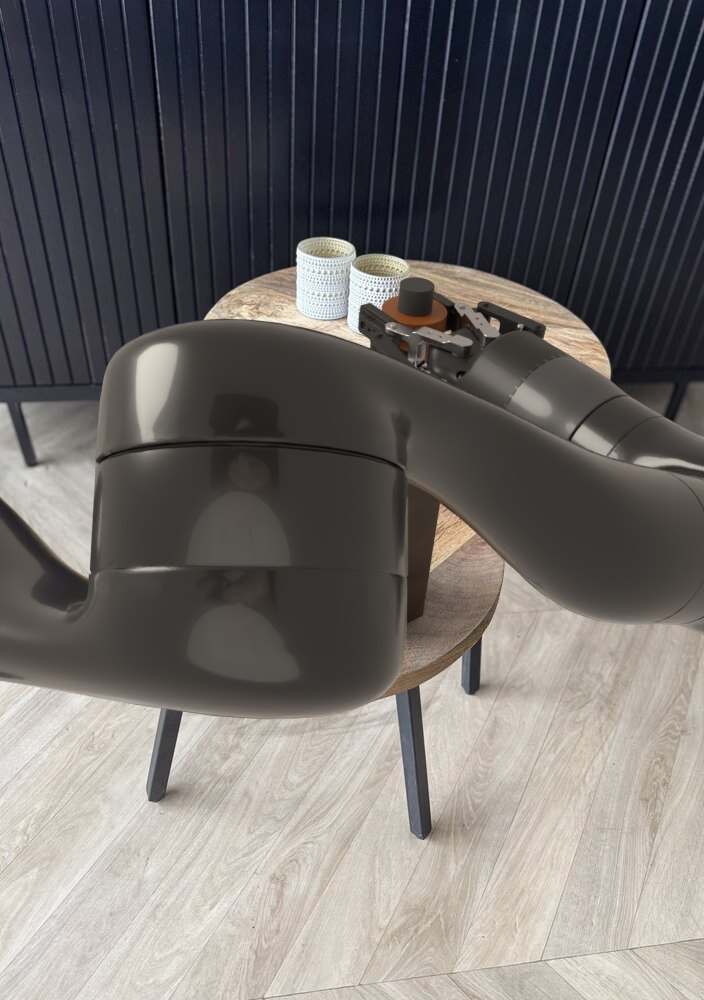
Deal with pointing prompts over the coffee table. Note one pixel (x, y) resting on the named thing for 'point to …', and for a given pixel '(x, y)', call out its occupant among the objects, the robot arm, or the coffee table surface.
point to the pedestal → (419, 548)
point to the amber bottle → (416, 307)
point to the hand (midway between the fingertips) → (392, 307)
